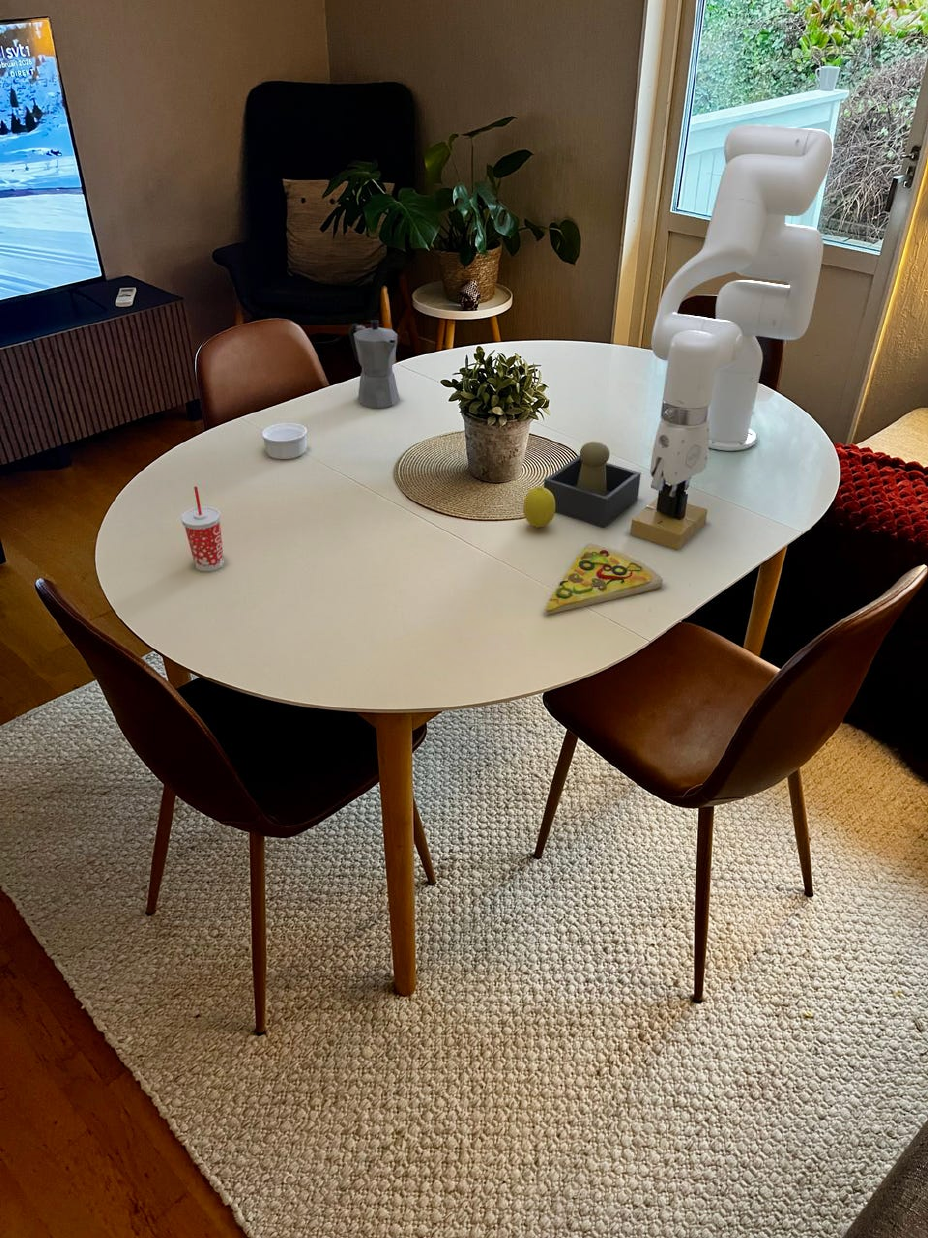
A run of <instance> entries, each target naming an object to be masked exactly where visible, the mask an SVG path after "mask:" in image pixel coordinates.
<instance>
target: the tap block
mask: <svg viewBox="0 0 928 1238" xmlns="http://www.w3.org/2000/svg"><path fill="white" fill-rule="evenodd" d="M657 501H658V497H657V498H655V499H654V500H653V501H652V502H650V503H649V504H648V505H645V507H644V509H642V510H641V511H640V512H639V513H637V514H636V515H635V516H634V517H633V518H632V519H631V525H630V533H629V535H630V536H634V537H637V538H640V539H643V540H646V541H649V542H651V543H655V544H658V545H661V546H664V547H667V548H670V549H673V550H676V551H679V550H680V549H681V548H682V547H683V546H684V545H685V544H686V543H688V542H689V540H690V539H691V538H692V537H693V536H695V535H696V534H697V533H698V532H699V531H700V530H701V529H702V528H704V526H705V525H706V521H707V518H708V517H707V516H708V510H709V509H708V508H705V507H702V506H699V505H695V504H693V503H689V502H687V506H686V512H685V518H683V519H681V520H678V519H675V518H673V517H669V516H667V515H665V514H663V513H660V512H659V511H657V510H656V508H657Z"/></svg>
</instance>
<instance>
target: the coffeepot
mask: <svg viewBox="0 0 928 1238" xmlns="http://www.w3.org/2000/svg"><path fill="white" fill-rule="evenodd" d="M370 324H371V327H368V328H366V326H364V325H361V324H360V325H359V324H358V323H352V324H351V326H350V327H349V329H348V336H349V339H350V343H351V347H352V350H353V354H354V357H355V358H354V359H355V360H356V361H357V362H358V363H359V365H360V366H361V373H360V376H359V384H358V385H359V386H358V395H357V401H358V403H359V404H360V405H361V406H362V407H364V408H368V409H378V410H379V409H380V410H381V409H387V408H391V407H393V406H396V405H397V404H398V402H399V401H401V400H400V394H399V391H398V385H397V381H396V377H395V373H394V371H393V366H394V365H395V362H396V361H395V360H396V354H397V353H396V352H397V344H398V334H397V333H396V331H394V329H391V328H386V327H379V320H377V319H373V320H370Z"/></svg>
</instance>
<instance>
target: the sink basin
mask: <svg viewBox="0 0 928 1238" xmlns="http://www.w3.org/2000/svg"><path fill="white" fill-rule="evenodd" d="M581 465H582V461H581V459H580V454H579V455H578V456H577V457H575V458H574V459H572V460H571V461H569V462H568V463H566V464H565V465H564V466H562V467H561V468H559V469H558V470H556V471H555V472H553V473H552V474H550V475H549V476H548V477H546V478H544V480H543V487H544V488H546V489H548V490H549V491H550V492H551V493H552V494H553V496H554V499H555V513H558V514H561V515H563V516H567V517H570V518H572V519H576V520H578V521H582V522H584V523H588V524H590V525H594V526H596V527H599V528H602V529H605V528H606V527H607V526H609V524H611V522H613V521H615V520H616V519H617V518H618V517H619V516H621V515H622V514H623V513H624V512H626V511H627V510H628V509H629V508H630V507H631V506H632V505H634V504H635V503H636V502H638V500H639V499H638V498H639V491H640V483H641V475H642V474H641V472H639V471H636V470H632V469H628V468H626V467H622V466H619V465H615V464H612V463H608V462H607V463H606V464H605V465H606V487H607V496H605V497H604V496H601V495H598V494H595V493H592V492H588V491H585V490H582V489H579V488H577V483H578V479H579V474H580V470H581Z"/></svg>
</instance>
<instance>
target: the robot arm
mask: <svg viewBox="0 0 928 1238" xmlns="http://www.w3.org/2000/svg"><path fill="white" fill-rule="evenodd" d="M833 143H834V142H833V139H832V136H831V134H829V133H828V132H827V131H825V130H823V129H817V128H805V127H792V126H780V125H772V124H771V125H769V124H741V125H738V126H735V127H733V128H732V129H730V131H729V132H728V133H727V134H726V137H725V142H724V149H723V150H724V151H723V154H724V161H725V167H724V169H723V171H722V174H721V178H720V182H719V186H718V190H717V193H716V197H715V201H714V204H713V209H712V212H711V216H710V220H709V223H708V227H707V231H706V235H705V238H704V242H703V246H702V248H701V249H700V251H698V253H697V254H696V255H694V256H693V257H692V258H690V259H689V260H688V261H687V262H686V263H684V264H683V265H682V266H681V267H680V268H679V269H678V270H677V272H676V273H675V274H674V275H673V276H672V278H671V279H670V280H669V282H668V284H667V285H666V287H665V289H664V291H663V293H662V296H661V298H660V301H659V305H658V309H657V313H656V316H655V320H654V324H653V328H652V333H651V339H650V340H651V342H650V344H651V346H650V347H651V351H652V353H653V355H654V356H655V357H657V358H658V359H660V360H662V361H666V362H667V363H666V372H665V380H664V381H665V382H664V387H663V394H662V395H663V396H662V401H661V410H660V421H659V424H658V427H657V431H656V435H655V439H654V444H653V448H652V453H651V460H650V473H649V474H650V476H651V477H652V480H651V484H650V489H653V490H655V491H658V493H659V492H660V498H659V505H658V511H659V512H660V513H663V514H665V515H667V516H669V517H673V516H675V511H676V504H677V497H678V496H676V495H675V494H676V489H677V490H679V491H681V492H684V493H686V494H687V491H688V489H689V488H690V483H691V479H692V478H693V477H694V476H696V475H698V474H700V473H701V472H703V471H704V470H705V469H706V466H707V461H708V454H709V448H710V449H714V450H718V451H729V452H730V451H731V452H733V451H742V450H746V449H749V448H750V447H752V446H753V445H754V444H755V443H756V438H757V435H756V433H755V432H754V430H753V429H751V424H752V423H751V422H752V418H753V415H754V413H755V412H754V407H755V402H756V396H757V392H758V387H759V380H760V376H761V371H762V365H763V361H764V360H763V359H764V358H763V351H762V348H761V345H760V343H759V341H758V338H757V337H763V338H770V339H775V340H785V341H795V340H799V339H800V338H802V337H803V336H804V335H805V334H806V332H807V330H808V328H809V325H810V322H811V318H812V314H813V309H814V303H815V298H816V294H817V289H818V283H819V277H820V272H821V268H822V262H823V255H824V238H823V235H822V233H821V231H819V230H818V229H816V228H814V227H811V226H806V225H797V224H789V223H787V222H786V217H789V216H790V217H801V216H802V215H804V214H805V213H806V212H807V211H808V210H809V209H810V207H811V205H812V204H813V202H814V201H815V198H816V196H817V195H818V192H819V190H820V188H821V186H822V184H823V182H824V180H825V178H826V176H827V174H828V172H829V169H830V166H831V163H832V159H833V153H834V145H833ZM731 273H736V274H737V275H738V274H739V275H740V276H744V277H749V278H754V279H761V280H762V279H763V280H771V281H778V282H785V283H787V285H786V284H785V285H784V284H777V283H771V282H764V281H758V280H757V281H756V280H747V279H741V280H739V279H738V280H732V281H729V282H727V283H725V284H724V285H723V286H722V287H721V289H720V290H719V292H718V294H717V297H716V302H715V319H714V318H708V317H704V316H698V315H697V316H695V315H690V314H681V313H678V311H679V308H680V306H681V304H682V302H683V300H684V298H686V296H687V295H688V294H689V293H690V292H691V291H692V290H693V289H694V288H696V287H698V286H699V285H701V284H702V283H704V282H707V281H710V280H712V279H714V278H718V277H721V276H724V275H725V276H726V275H727V274H731ZM669 485H670V486H669Z"/></svg>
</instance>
